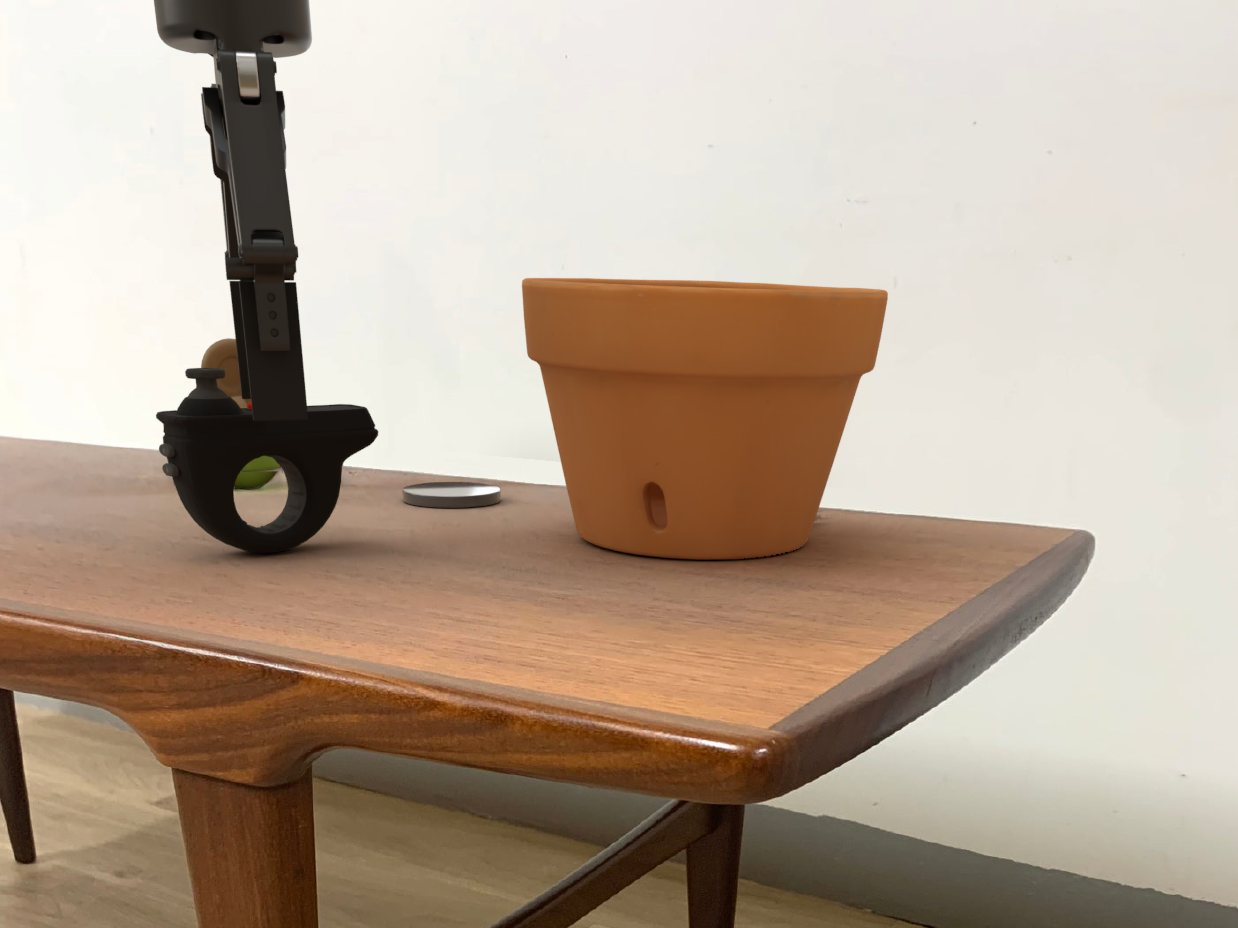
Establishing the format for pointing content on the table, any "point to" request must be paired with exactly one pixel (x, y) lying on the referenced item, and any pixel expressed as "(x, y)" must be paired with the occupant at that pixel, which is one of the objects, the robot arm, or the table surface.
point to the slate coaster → (451, 494)
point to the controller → (229, 439)
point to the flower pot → (698, 406)
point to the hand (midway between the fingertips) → (272, 409)
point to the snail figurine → (226, 358)
